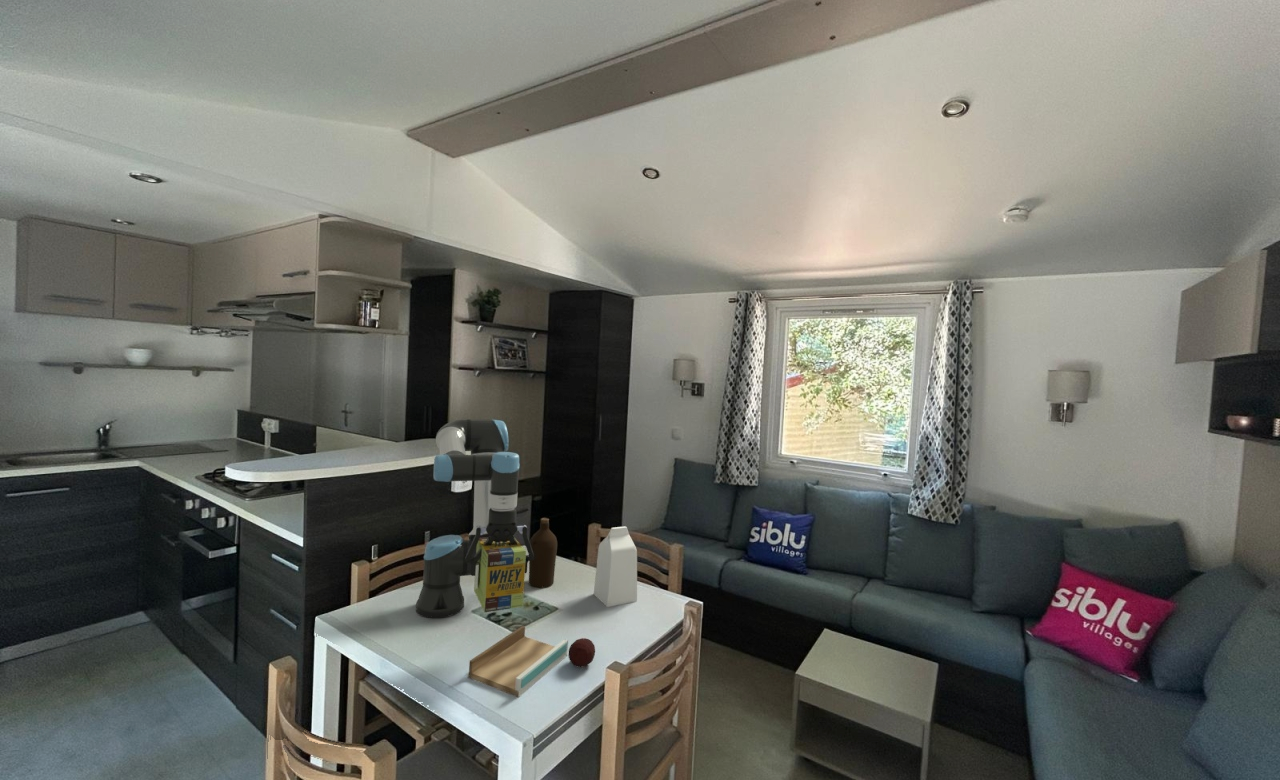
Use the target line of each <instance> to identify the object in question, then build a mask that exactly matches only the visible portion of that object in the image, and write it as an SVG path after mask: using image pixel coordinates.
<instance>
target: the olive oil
mask: <svg viewBox="0 0 1280 780" xmlns="http://www.w3.org/2000/svg"><path fill="white" fill-rule="evenodd" d="M549 521H550V519H549V518H548V517H542V518H540V522H539V529H538V530H537V531H536V532H534V534H533V535H532V536H531V538H530V539H529V542H530V545H531V548H532V551H533V554H534V560H530V561H528V566H529V567H528V585H529V586H530V587H532V588H536V589H537V588H538V589H545V588H549V587H551V586H553V585H554V582H555V572H556V571H555V570H556V569H555V568H556V559H557V551H558V540H557V536H556V535H555V534H554V533H553V531H552V530H550V522H549Z"/></svg>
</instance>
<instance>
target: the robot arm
mask: <svg viewBox="0 0 1280 780" xmlns="http://www.w3.org/2000/svg"><path fill="white" fill-rule="evenodd" d="M509 442H510V441H509V433H508V428H507V424H506V423H505V422H504V421H503V420H498V419H480V418H479V419H474V418H473V419H468V418H462V419H461V418H460V419H455V420H452V421H450V422H448V423H445V424H444V425H443V426H442V427H440V429H438V431H437V432H436V436H435V445H436V446H437V448H438V450H439V454H437V455H435V456H434V458H433V459H434V461H433V480H434V481H436V482H445V483H450V482H470V481H471V482H474V485H473V487H474V488H473V489H474V490H473V491H474V493H473V500H474V501H473V526H472V527H473V528H472V530H471V531H470V532H469V534H468V539H464V538H463V537H462V535H458V534H448V535H447V534H446V535H441V536H438V537H436V538H433V539H431V540H430V541H428V543H427V544H426V545H425V548H424V555H423V560H424V561H423V562H424V564H423V565H424V566H423V578H422V587H421V591H420V593H419V596H418V598H417V601H416V604H415V612H416V614H417V615H418V616H420V617H424V618H428V619H429V618H430V619H439V618H447V617H449V616H451V617H452V616H454V615H456V614H458V613H460V612H461V611H462V610H463V609H464V607H465V597H464V595H463V589H462V586H461V577H465V576H466V577H467V576H471V577H472V576H473V577H474V584H475V589H477V588H478V572H479V562H478V560H479V559H480V558H481V553H482V549H479V551H478V552H477V553H476V549H477V543H478V541H479V539H480V538H483V537H488V538H487V540H486V541H485V543H484V546H490V545H491V544H492V542H493V541H495V542H501V541H502V542H507V541H510V543H511V544H512V545H518V542H519V541H518V540H517V539H516V537H515V534H516V533H517V532H518V531H519V534H521V535H522V539H523V542H524V545H525V548H526V552H527V553H528V554H526V560H525V574H527V573H528V565H529V561H530V560H534V554H533V551H532V548H531V545H530V539H529V537H528V527H527V525H526V524H523V525H517V511H518V510H517V505H518V494H519V493H518V490H519V489H518V488H519V485H518V484H519V474H520V468H521V467H520V455H519V454H518V453H516V452H510V451H508V450H509ZM467 452H470V454H467ZM516 540H517V541H518V542H517V541H516Z"/></svg>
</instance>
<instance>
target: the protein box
mask: <svg viewBox="0 0 1280 780" xmlns="http://www.w3.org/2000/svg"><path fill="white" fill-rule="evenodd" d="M487 538H488V537H483V538H480V539H479V541H478V543H477V549H476V553H477V552H478V551H479V549H482V553H481V558H480V559H479V560H478V562H479V572H478V588H477V589H475V583H474V586H473V591H474V593H475V595H476V597H477V600H478V602H479V604H480V606H481V608H482V610H483V612H484V613H489V612H495V611H496V612H497V611H503V610H508V609H516V608H522V607H523V606H524V594H525V593H524V592H525V591H524V590H525V589H524V588H525V577H526V576H525V574H526V573H525V560H526V556H527V549H525V548H524V547H523V546H522V544H521V543H520V542H519V541H518V540H517V539H516V541H517V542H518V545H512V544H511V543H510V541H507V542H502V541H501V542H495V541H493V542H492V544H491V545H490V546H484V543H485V541H486V540H487Z"/></svg>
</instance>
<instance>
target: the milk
mask: <svg viewBox="0 0 1280 780" xmlns="http://www.w3.org/2000/svg"><path fill="white" fill-rule="evenodd" d="M593 595H594V596H595V597H596V599H598V600H599V601H600V602H601V603H603V605H605V606H606V607H607V608H609V607H614V606H620V605H625V604H629V603H630V604H631V603H635V602H636V603H637V602H638V550H637V546H636V545H635V542H634V541H633V539H632V537H631V536H630V532H629V530H628V527H627V526H617V527H616V526H615V527H611V528H610V530H609V532H608V534H607V536H606V537H605V538H604V539H603V540H602V541H601V542H600V543H599V545H598V550H597V562H596V569H595V579H594V589H593Z"/></svg>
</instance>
